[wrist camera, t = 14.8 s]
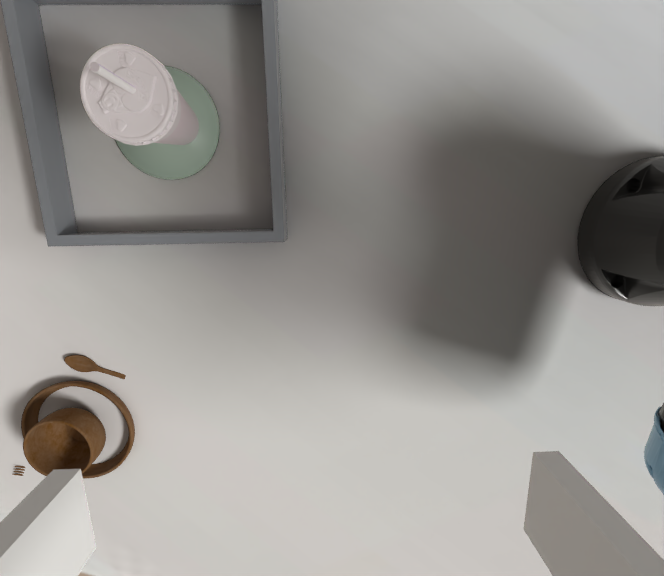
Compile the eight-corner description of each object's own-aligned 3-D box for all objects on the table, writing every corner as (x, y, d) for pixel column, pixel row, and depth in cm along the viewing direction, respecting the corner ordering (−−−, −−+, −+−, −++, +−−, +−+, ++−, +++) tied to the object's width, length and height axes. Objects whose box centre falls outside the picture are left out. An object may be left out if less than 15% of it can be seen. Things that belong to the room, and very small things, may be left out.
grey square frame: (276, -9, 32) (272, -30, 30) (287, 238, 37) (284, 241, 35) (24, -9, 32) (-6, -30, 29) (69, 242, 37) (47, 246, 34)
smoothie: (226, 140, 35) (165, 98, 21) (169, 172, 35) (73, 151, 22) (189, 74, 33) (100, -16, 20) (131, 108, 34) (3, 43, 20)
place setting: (117, 500, 44) (87, 543, 39) (-55, 448, 42) (-113, 487, 36) (158, 377, 41) (132, 406, 35) (-25, 314, 39) (-85, 333, 33)
